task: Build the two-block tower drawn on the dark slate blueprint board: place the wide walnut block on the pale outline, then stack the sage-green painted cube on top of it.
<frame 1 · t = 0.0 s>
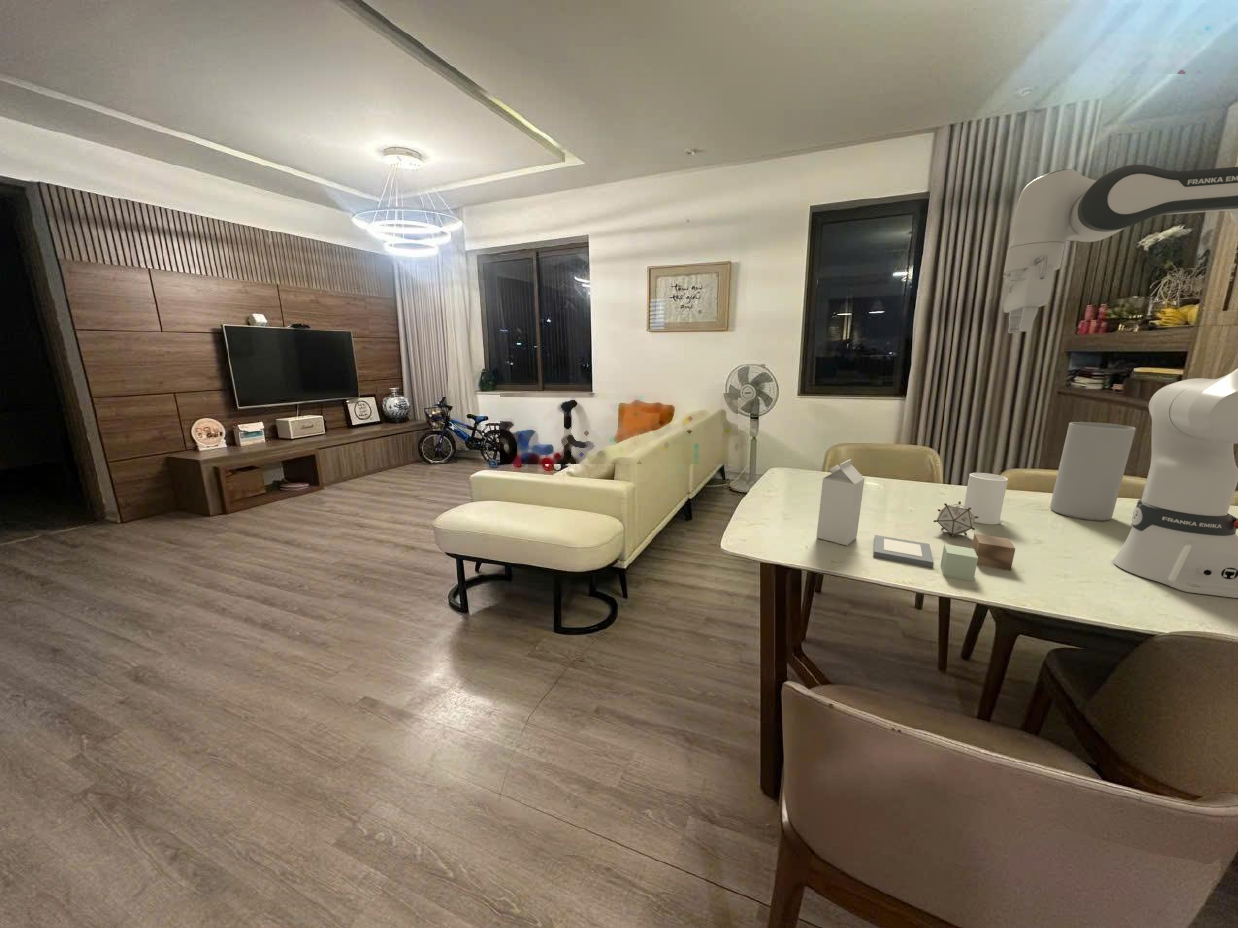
hand: (1018, 332, 99), 48 cm above the table, fingers open, 8 cm apart
cylinder vase: (1079, 514, 130), on the table
game die: (952, 535, 115), on the table
blueprint board: (901, 552, 104), on the table
walnut block: (989, 562, 100), on the table
milk carton: (836, 538, 113), on the table
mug: (984, 519, 126), on the table
sage cube: (956, 573, 95), on the table
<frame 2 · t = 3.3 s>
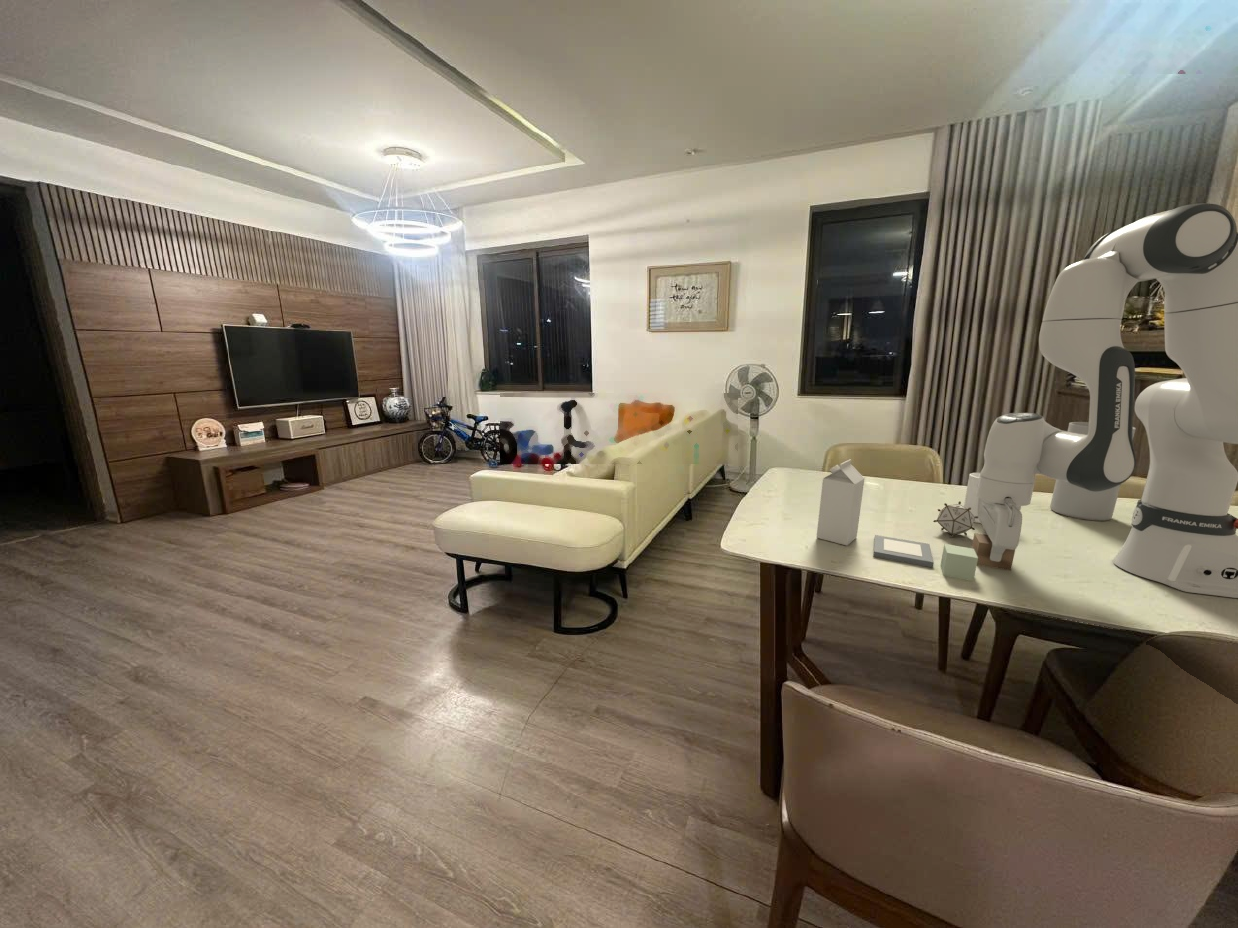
hand: (990, 553, 100), 2 cm above the table, fingers closed on walnut block, 6 cm apart
walnut block: (989, 562, 100), on the table, touching gripper
everything else where it was.
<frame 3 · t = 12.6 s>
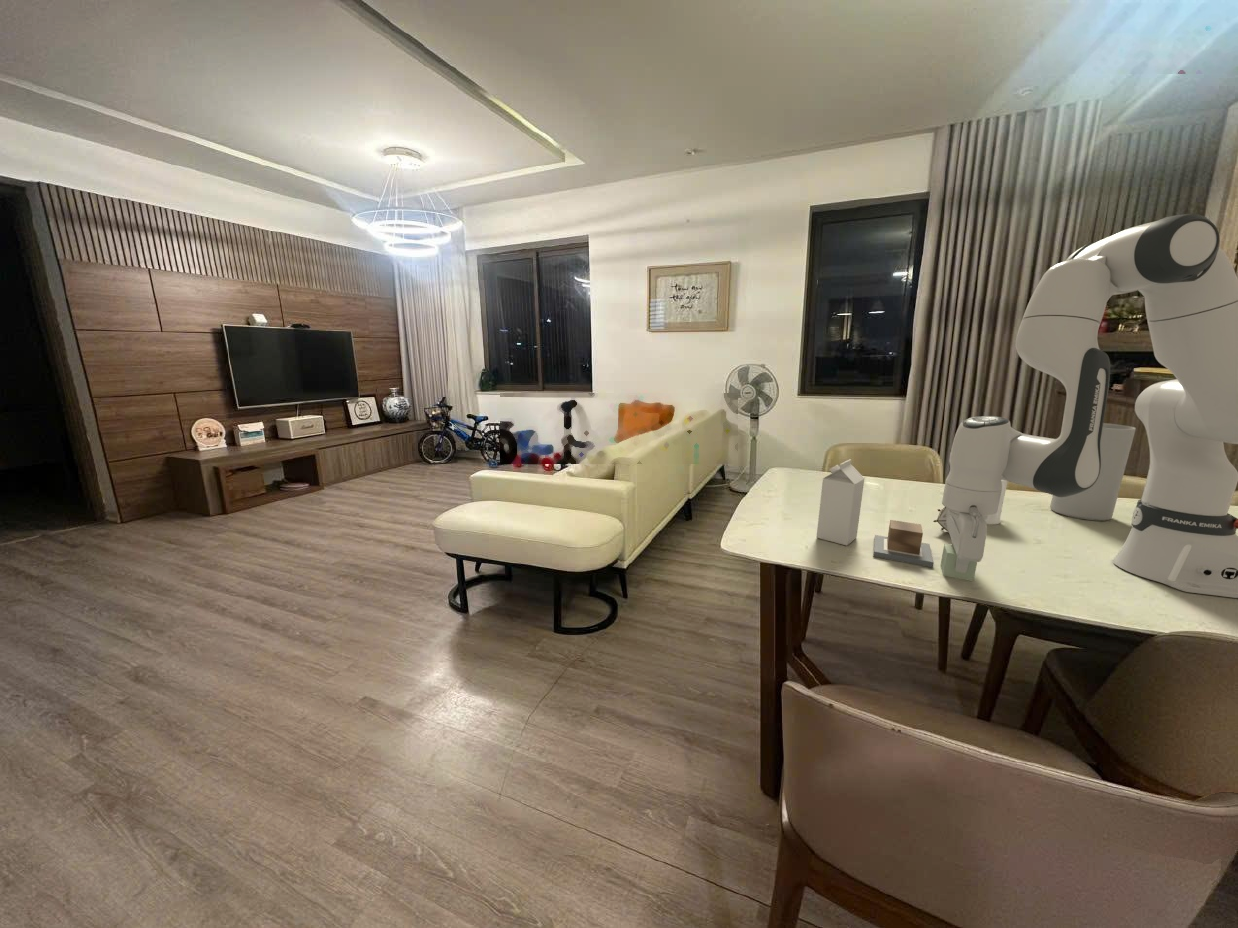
hand: (957, 564, 95), 2 cm above the table, fingers closed on sage cube, 5 cm apart
walnut block: (902, 547, 104), point 1 cm above the table, touching blueprint board
sage cube: (956, 573, 95), on the table, touching gripper
everything else where it was.
when the fingers open (9 cm above the table, at t = 17.9 s): sage cube stays where it is, resting on walnut block.
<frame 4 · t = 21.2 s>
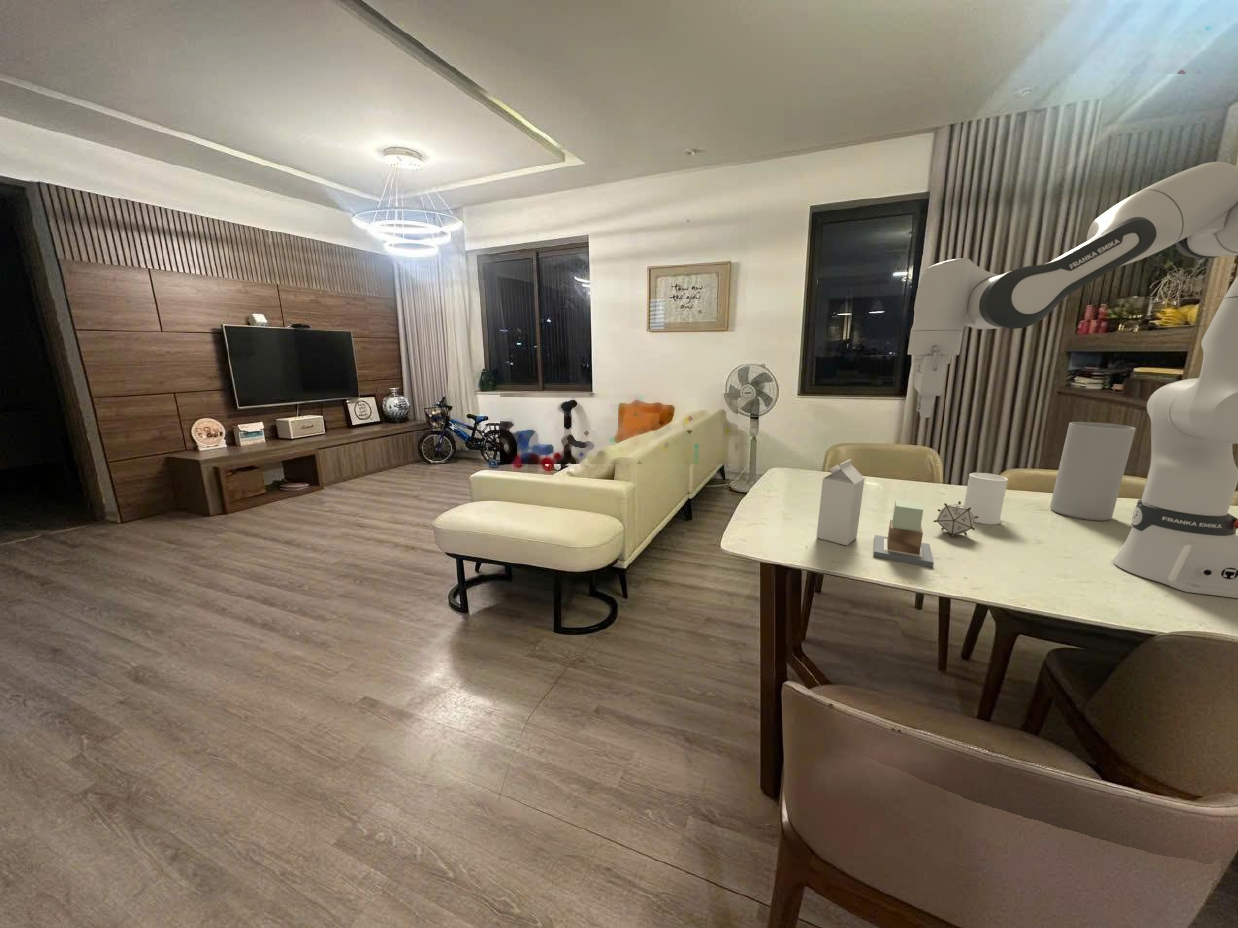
hand: (923, 414, 97), 31 cm above the table, fingers open, 8 cm apart
walnut block: (902, 547, 104), point 1 cm above the table, touching blueprint board, sage cube
sage cube: (905, 526, 103), point 6 cm above the table, touching walnut block
everything else where it was.
at the end: walnut block inside the target area (0.1 cm from its centre), point 1.3 cm above the table; sage cube 0.1 cm off-centre on the walnut block, point 5.0 cm above the walnut block's base; sage cube tilted 0° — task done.
